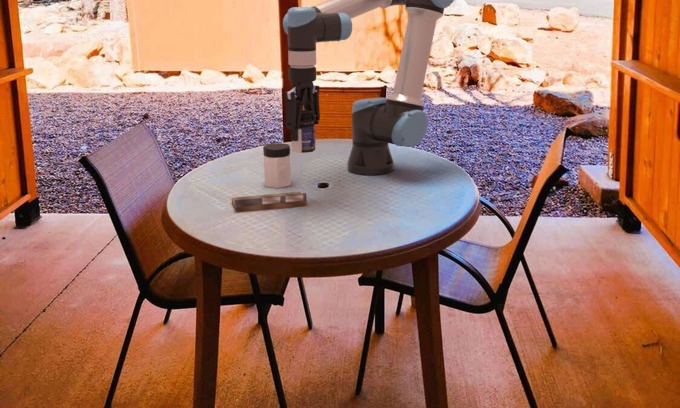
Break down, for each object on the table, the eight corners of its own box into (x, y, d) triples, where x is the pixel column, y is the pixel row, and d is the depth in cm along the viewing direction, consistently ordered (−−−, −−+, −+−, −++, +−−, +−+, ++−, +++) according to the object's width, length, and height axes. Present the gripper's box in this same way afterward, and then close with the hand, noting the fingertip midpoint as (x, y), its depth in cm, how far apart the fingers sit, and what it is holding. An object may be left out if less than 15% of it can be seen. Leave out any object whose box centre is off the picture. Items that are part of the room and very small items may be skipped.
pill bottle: (318, 151, 217) (318, 112, 214) (298, 154, 215) (297, 114, 211) (310, 147, 222) (309, 108, 219) (290, 149, 220) (289, 110, 217)
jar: (271, 189, 235) (270, 151, 231) (259, 183, 242) (257, 145, 238) (297, 184, 240) (296, 146, 236) (284, 178, 246) (282, 141, 243)
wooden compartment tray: (300, 196, 228) (300, 185, 227) (307, 205, 220) (306, 194, 219) (231, 202, 224) (231, 190, 223) (235, 212, 215) (235, 200, 214)
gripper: (310, 61, 221) (311, 141, 228) (270, 69, 206) (272, 154, 212) (332, 63, 217) (333, 144, 224) (293, 71, 202) (295, 158, 209)
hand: (303, 149), depth 218 cm, fingers closed on pill bottle, 6 cm apart
